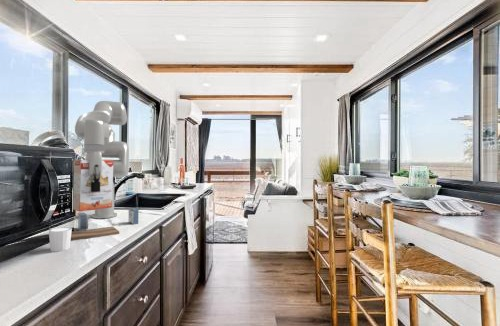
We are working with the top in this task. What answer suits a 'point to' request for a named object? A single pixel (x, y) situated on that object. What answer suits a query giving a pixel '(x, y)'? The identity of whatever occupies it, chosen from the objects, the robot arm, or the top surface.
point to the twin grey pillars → (84, 219)
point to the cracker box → (82, 186)
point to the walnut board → (93, 233)
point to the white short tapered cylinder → (60, 239)
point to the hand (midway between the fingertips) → (93, 190)
